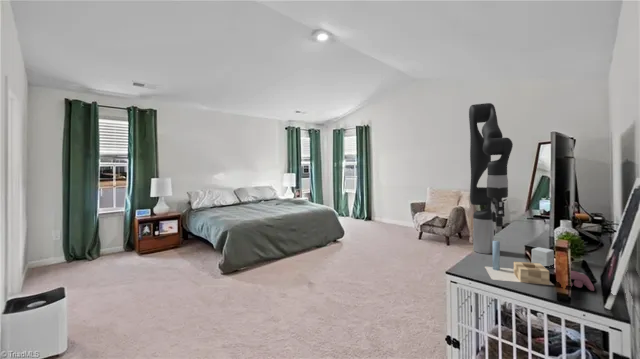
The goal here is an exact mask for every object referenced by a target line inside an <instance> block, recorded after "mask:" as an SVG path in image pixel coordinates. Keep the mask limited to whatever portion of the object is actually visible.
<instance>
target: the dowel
mask: <svg viewBox="0 0 640 359" xmlns="http://www.w3.org/2000/svg"><path fill="white" fill-rule="evenodd" d="M500 246H501V242H500V241H499V240H494V241H493V253H492V267H493V270H500V268H501V266H500V265H501V263H500V260H501V255H500V254H501V251H500V248H501V247H500Z"/></svg>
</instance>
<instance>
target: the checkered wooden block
mask: <svg viewBox="0 0 640 359" xmlns="http://www.w3.org/2000/svg"><path fill="white" fill-rule="evenodd" d="M513 269H514V275H515V276H516V277H517V278H518V280H519V281H520V282H519V283H524V282H525V283H527V284H534V283H536V284H537V285H545V284H547V286H550V285H549V281H550V270H548V268H545V267H544V266H542V265H541V264H540V263H531V262H527V261H526V262H525V261H513ZM536 284H535V285H536Z"/></svg>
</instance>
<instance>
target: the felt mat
mask: <svg viewBox="0 0 640 359" xmlns="http://www.w3.org/2000/svg"><path fill="white" fill-rule="evenodd" d="M484 268H485V269H486V272H487V274H488V275H489V277H490V279H491V280H492V281H493V280H494V281H504V282H512V283H513V282H514V283H521V282H520V281H519V280H518V278H517V277H516V276H515V275H514V268H509V267H500V270H493V266H484ZM523 283H525V282H523ZM533 284H535V285H536V283H533ZM546 285H547V284H544V286H546ZM547 286H554V283H552V281H550V280H549V285H547Z"/></svg>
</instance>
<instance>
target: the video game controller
mask: <svg viewBox="0 0 640 359" xmlns="http://www.w3.org/2000/svg"><path fill="white" fill-rule="evenodd" d="M570 271H571V279H570V280H574V281H573V282H572V281H571V287H570V288H572V286H573V285H574V287H575V288H583V286H585V287H586V288H587V290H590V291H591V292H594V291H595V286H594V284H593V283H592V281H591V279H590V278H589V276H588V275H587V274H585V273H583V272H580V271H575V270H570Z"/></svg>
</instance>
